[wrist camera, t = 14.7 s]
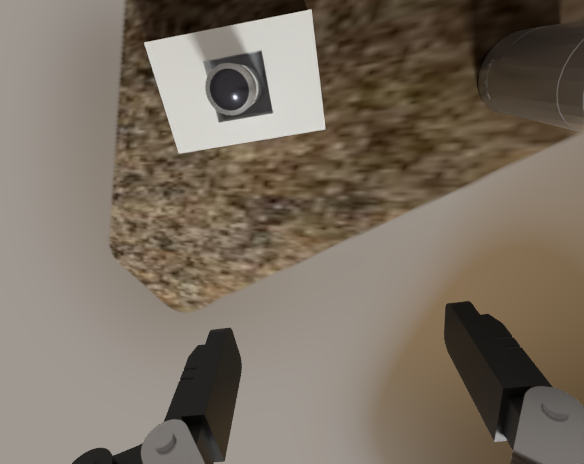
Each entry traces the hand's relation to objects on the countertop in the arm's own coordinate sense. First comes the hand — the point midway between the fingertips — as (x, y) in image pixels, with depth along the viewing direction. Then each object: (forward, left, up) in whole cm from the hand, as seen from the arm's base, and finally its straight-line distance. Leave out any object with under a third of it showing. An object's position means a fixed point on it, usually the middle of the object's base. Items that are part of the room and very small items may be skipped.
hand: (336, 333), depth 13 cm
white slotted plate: (+7, -8, -36) cm, 38 cm away
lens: (+7, -8, -34) cm, 36 cm away
